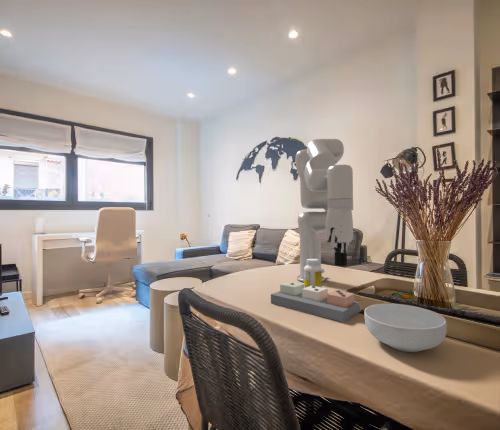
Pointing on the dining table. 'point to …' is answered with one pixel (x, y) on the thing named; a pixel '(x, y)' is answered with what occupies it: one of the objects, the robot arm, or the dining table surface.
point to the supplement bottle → (312, 273)
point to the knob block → (291, 288)
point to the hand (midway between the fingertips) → (340, 265)
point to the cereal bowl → (405, 326)
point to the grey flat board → (315, 306)
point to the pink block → (340, 298)
